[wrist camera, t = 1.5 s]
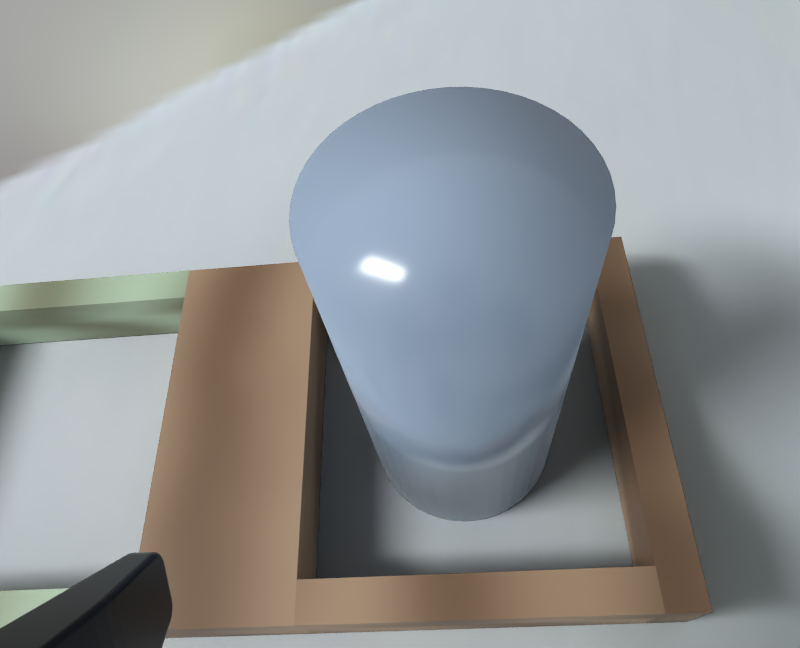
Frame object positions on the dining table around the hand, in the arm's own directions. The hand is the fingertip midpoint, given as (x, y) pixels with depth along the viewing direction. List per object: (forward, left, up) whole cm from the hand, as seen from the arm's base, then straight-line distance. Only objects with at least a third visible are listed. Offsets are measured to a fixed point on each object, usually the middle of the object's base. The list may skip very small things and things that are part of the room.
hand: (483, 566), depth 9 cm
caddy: (-1, +10, -12) cm, 16 cm away
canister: (+4, +5, -12) cm, 14 cm away
